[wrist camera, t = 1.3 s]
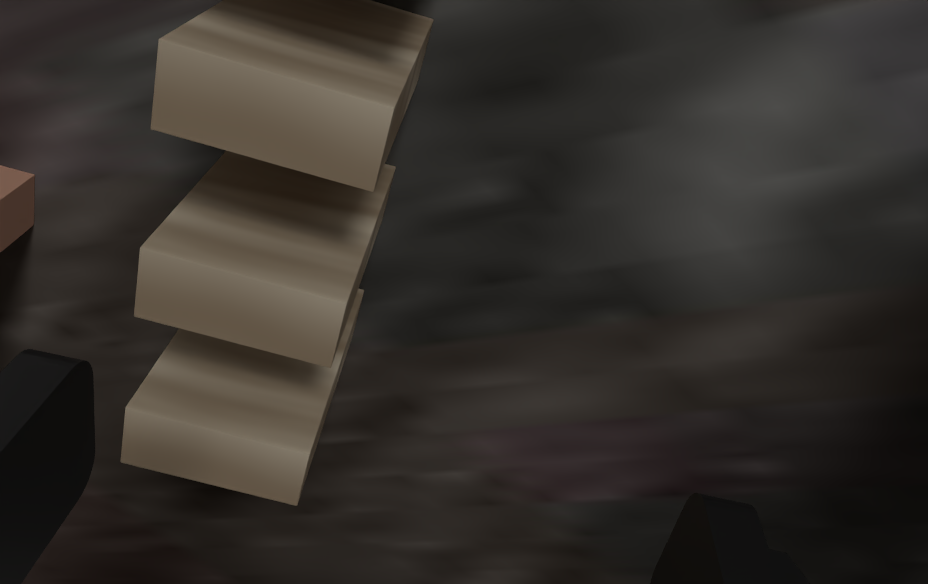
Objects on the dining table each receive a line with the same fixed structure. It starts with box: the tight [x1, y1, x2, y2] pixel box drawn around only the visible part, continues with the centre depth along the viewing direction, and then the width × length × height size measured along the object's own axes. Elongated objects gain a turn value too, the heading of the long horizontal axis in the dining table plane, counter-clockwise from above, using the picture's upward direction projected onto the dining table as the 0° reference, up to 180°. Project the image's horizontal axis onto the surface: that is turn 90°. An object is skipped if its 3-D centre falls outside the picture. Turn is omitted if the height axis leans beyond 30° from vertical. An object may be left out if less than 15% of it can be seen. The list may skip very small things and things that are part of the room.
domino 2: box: [134, 151, 396, 368], centre depth 24 cm, size 2×5×9 cm, turn 74°
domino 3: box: [121, 289, 364, 506], centre depth 26 cm, size 2×5×9 cm, turn 74°
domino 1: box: [151, 0, 434, 192], centre depth 22 cm, size 2×5×9 cm, turn 74°
